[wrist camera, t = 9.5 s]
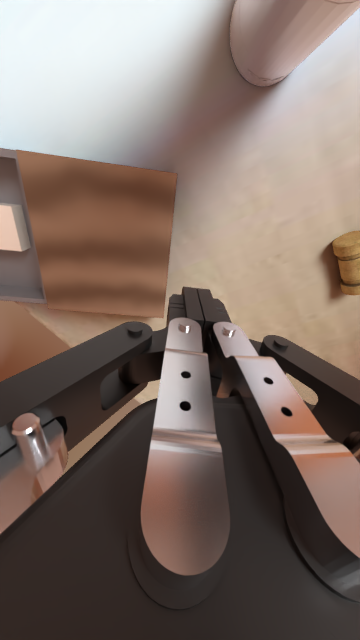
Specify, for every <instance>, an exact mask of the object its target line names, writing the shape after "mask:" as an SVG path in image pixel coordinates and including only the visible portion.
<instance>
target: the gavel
mask: <svg viewBox="0 0 360 640" xmlns="http://www.w3.org/2000/svg"><path fill="white" fill-rule="evenodd" d="M332 245H333V250H334V254H335V255H336V256H338V257H337V259H338V264H339V269H340V274H341V278H342V279H341V280H340V285H341V290H342V292H343V293H344V294H347V295H360V231H353V232H348V233H346V234H344V235H342V236H340V237H338V238H336V239H335V240H334V241H333V242H332Z"/></svg>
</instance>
